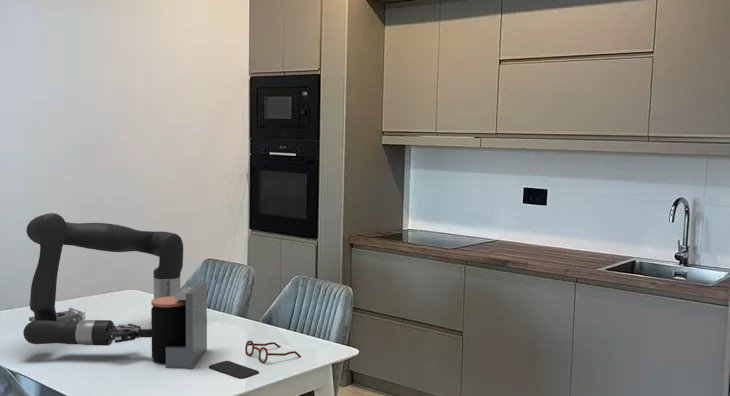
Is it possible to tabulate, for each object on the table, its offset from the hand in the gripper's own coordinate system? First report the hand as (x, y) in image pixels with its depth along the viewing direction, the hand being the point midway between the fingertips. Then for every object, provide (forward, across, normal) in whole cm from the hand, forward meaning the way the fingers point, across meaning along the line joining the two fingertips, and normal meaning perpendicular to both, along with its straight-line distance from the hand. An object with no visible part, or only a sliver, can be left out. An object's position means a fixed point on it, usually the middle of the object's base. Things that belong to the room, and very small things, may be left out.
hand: (152, 333), depth 207 cm
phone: (+26, -10, +8) cm, 29 cm away
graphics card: (-48, +41, +8) cm, 64 cm away
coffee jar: (+5, 0, +8) cm, 10 cm away
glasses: (+36, +5, +9) cm, 37 cm away
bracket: (+10, 0, +8) cm, 13 cm away
